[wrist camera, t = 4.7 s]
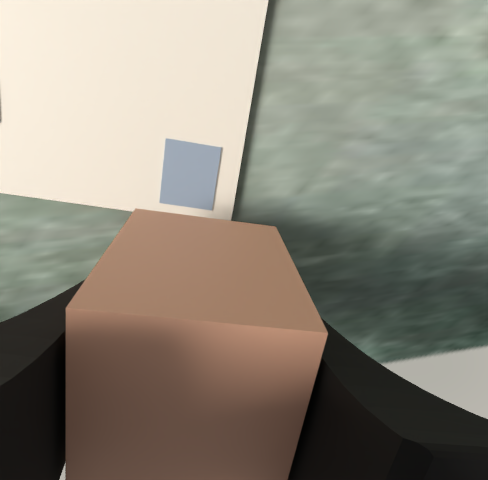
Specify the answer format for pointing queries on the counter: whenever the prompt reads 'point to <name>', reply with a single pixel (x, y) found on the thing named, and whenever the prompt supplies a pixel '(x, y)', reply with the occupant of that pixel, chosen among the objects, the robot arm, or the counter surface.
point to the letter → (127, 101)
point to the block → (189, 354)
